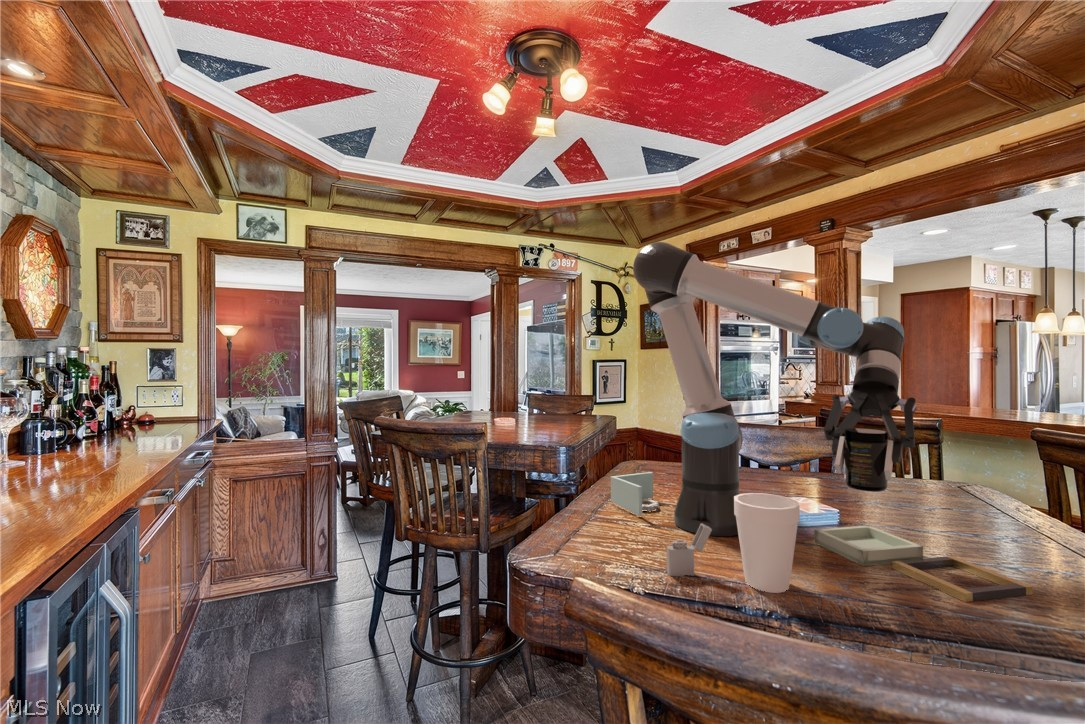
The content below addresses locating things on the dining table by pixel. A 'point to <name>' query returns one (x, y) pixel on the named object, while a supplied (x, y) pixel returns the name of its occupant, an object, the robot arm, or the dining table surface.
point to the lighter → (686, 553)
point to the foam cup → (767, 539)
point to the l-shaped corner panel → (634, 492)
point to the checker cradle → (1003, 590)
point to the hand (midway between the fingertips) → (862, 471)
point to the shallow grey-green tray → (867, 545)
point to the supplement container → (865, 459)
